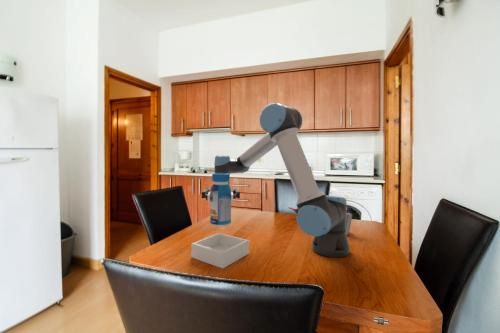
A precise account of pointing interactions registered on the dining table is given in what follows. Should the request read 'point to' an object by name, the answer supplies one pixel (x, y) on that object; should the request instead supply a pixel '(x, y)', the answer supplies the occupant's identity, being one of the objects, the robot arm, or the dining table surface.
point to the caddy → (220, 249)
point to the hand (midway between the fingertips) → (220, 198)
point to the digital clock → (348, 222)
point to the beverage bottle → (220, 200)
